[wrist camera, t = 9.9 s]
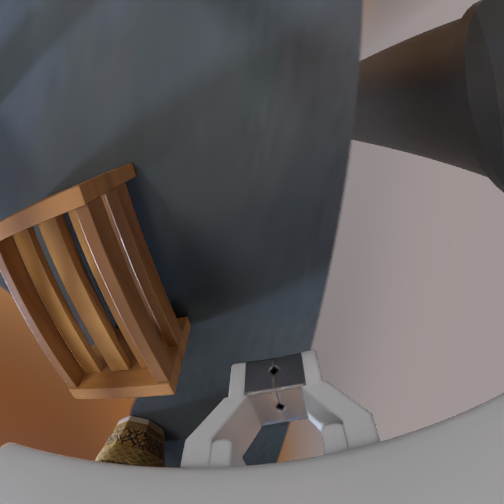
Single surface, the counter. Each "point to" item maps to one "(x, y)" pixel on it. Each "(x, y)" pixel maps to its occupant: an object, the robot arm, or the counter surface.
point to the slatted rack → (85, 296)
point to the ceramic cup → (135, 444)
